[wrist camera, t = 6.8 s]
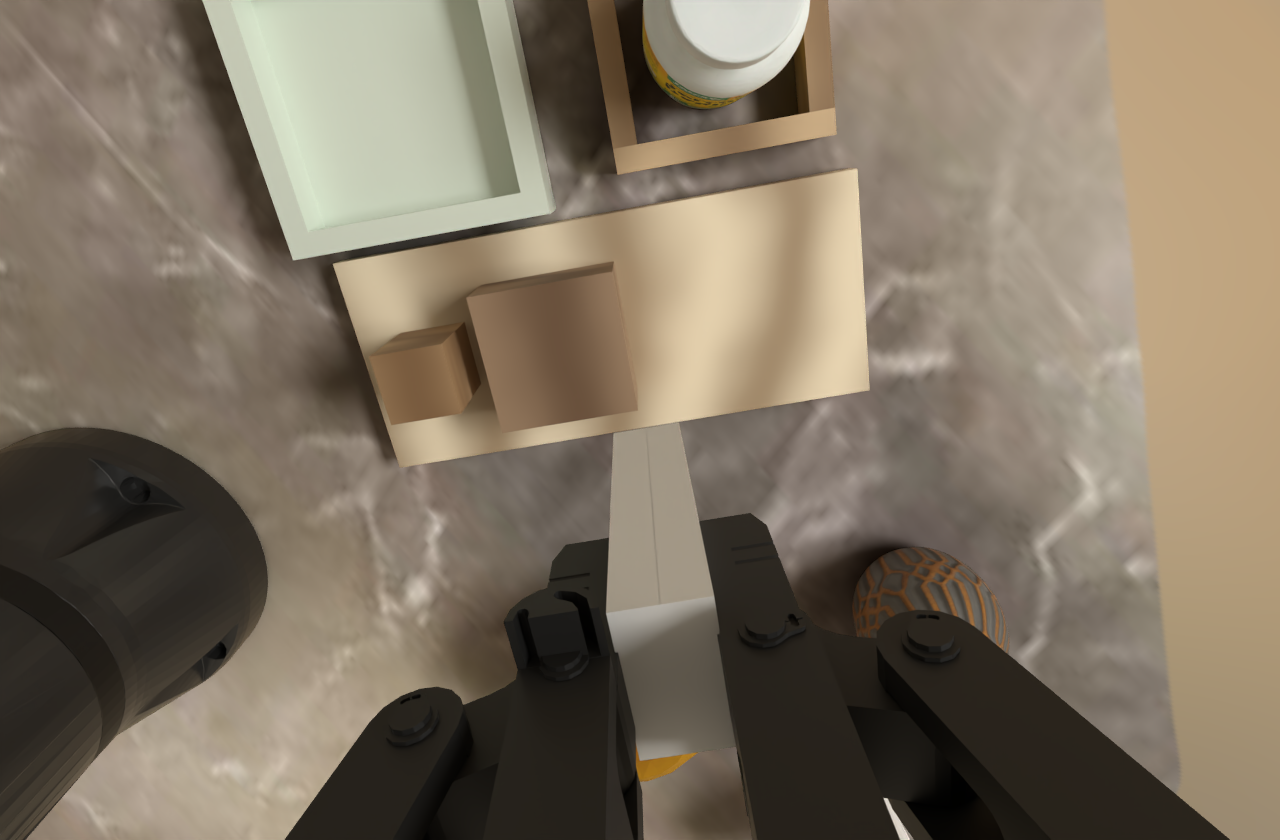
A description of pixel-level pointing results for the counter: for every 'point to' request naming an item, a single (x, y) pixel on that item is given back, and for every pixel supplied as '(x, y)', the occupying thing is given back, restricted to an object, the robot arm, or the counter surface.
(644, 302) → the board
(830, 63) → the oak collar
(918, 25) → the counter surface
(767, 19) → the supplement bottle
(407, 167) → the tray
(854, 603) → the vase
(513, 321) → the walnut block
